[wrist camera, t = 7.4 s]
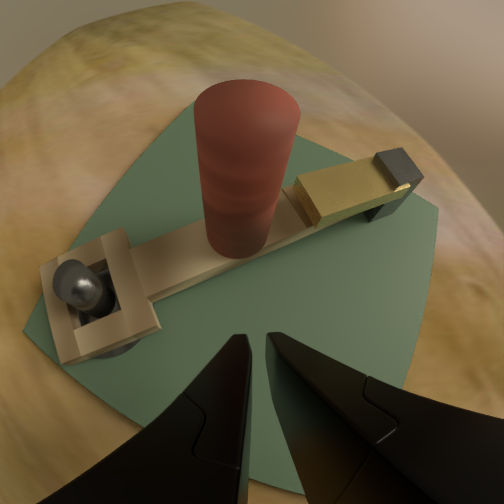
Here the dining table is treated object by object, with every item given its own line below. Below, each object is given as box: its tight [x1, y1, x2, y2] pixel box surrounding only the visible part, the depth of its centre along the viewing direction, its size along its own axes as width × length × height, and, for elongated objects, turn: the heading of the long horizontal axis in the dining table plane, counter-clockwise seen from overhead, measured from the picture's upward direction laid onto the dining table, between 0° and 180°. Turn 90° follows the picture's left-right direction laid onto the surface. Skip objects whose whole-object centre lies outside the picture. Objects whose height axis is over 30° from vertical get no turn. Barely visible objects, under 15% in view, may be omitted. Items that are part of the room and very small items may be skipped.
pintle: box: [52, 259, 154, 358], centre depth 13 cm, size 6×6×5 cm
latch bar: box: [39, 79, 354, 366], centre depth 12 cm, size 19×6×9 cm, turn 117°
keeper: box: [293, 148, 424, 229], centre depth 17 cm, size 8×3×5 cm, turn 113°
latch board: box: [23, 101, 438, 495], centre depth 17 cm, size 22×22×1 cm
